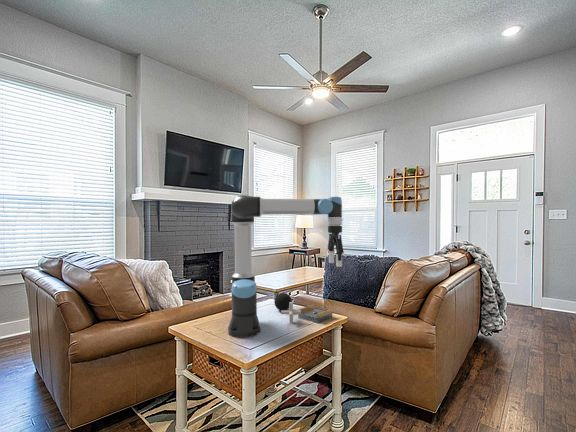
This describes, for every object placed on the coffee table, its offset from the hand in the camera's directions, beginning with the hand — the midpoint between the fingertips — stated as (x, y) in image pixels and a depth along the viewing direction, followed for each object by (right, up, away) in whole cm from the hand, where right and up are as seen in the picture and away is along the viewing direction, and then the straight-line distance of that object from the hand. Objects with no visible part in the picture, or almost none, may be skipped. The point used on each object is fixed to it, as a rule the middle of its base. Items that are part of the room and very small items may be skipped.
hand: (335, 264), depth 170 cm
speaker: (-28, -28, +12) cm, 42 cm away
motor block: (-11, -28, -1) cm, 30 cm away
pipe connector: (-24, -28, -8) cm, 38 cm away
